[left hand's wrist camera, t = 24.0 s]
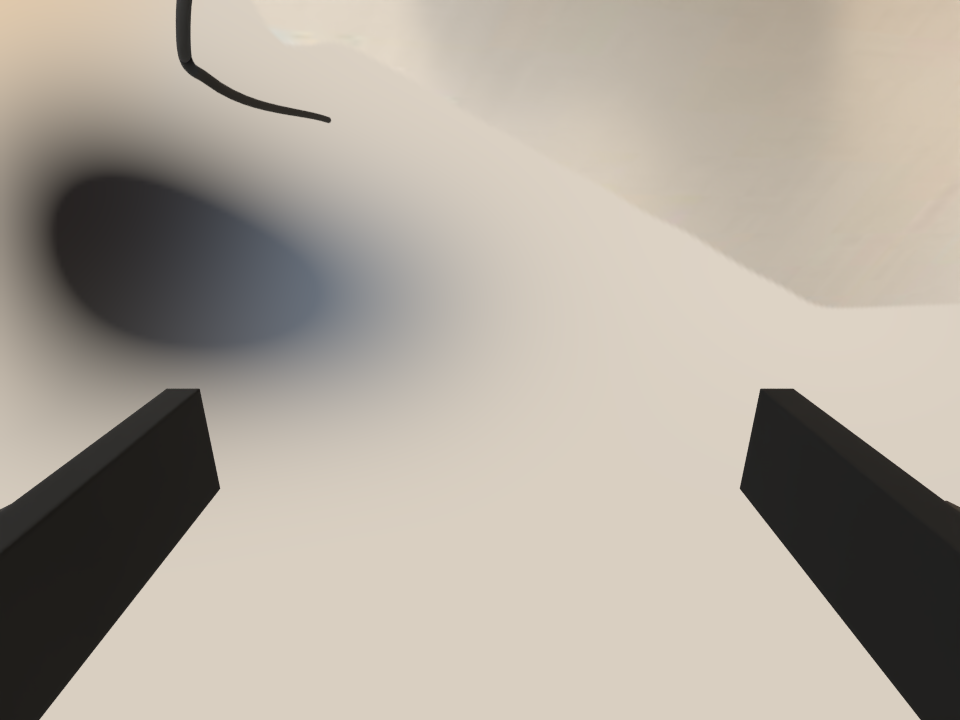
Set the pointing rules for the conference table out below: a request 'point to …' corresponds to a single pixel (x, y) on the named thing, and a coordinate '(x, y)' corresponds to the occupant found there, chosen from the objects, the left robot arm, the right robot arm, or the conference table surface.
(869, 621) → the left robot arm
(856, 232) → the conference table surface
